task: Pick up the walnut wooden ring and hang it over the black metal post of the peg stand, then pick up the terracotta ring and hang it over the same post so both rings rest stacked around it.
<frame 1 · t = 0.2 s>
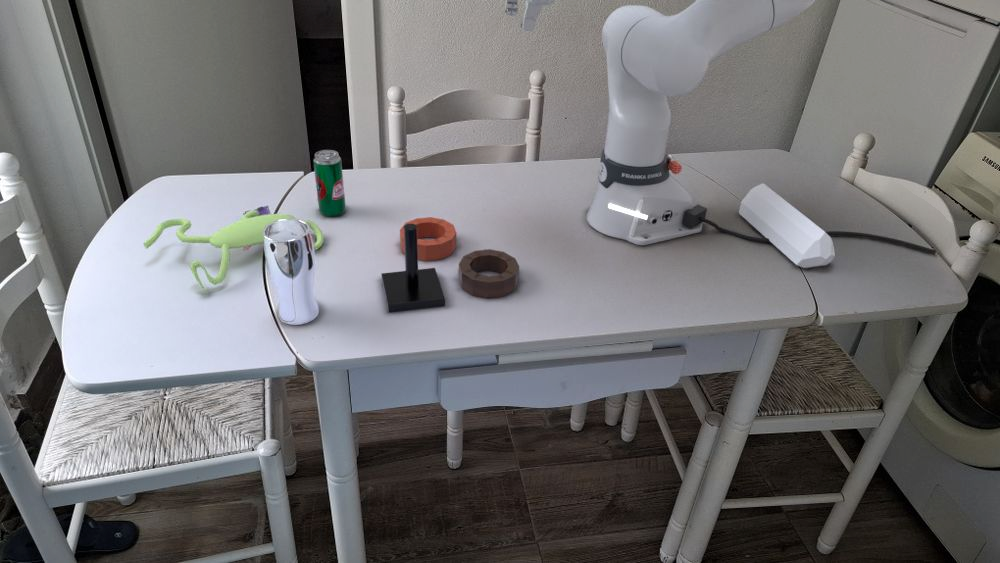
hand: (518, 21, 108), 38 cm above the table, tool pointing down, fingers open, 8 cm apart
terracotta ring: (428, 246, 124), on the table
chrome cup: (299, 314, 106), on the table
walnut ring: (488, 281, 116), on the table
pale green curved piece: (237, 253, 120), on the table
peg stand: (412, 293, 112), on the table
crystal: (781, 240, 132), on the table
soda can: (332, 212, 133), on the table
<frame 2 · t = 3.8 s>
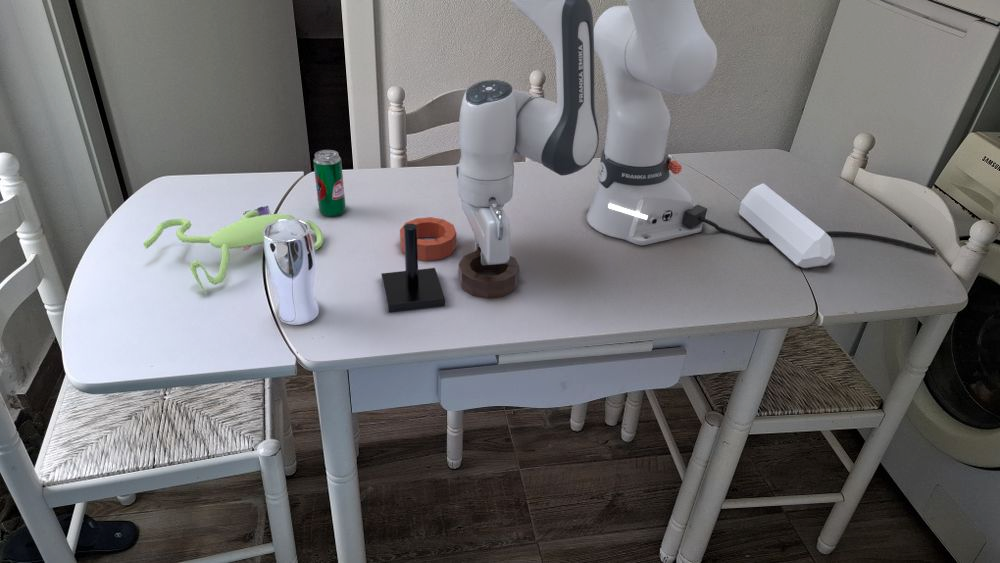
hand: (483, 257, 118), 2 cm above the table, tool pointing down, fingers closed on walnut ring, 2 cm apart
walnut ring: (488, 280, 116), on the table, touching gripper
everything else where it was.
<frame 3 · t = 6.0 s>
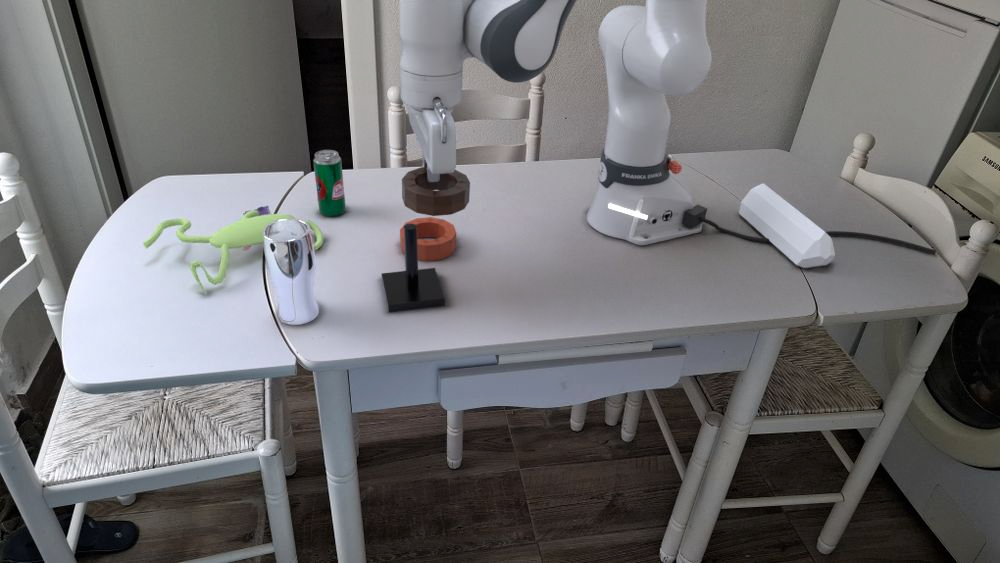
hand: (431, 175, 106), 19 cm above the table, tool pointing down, fingers closed on walnut ring
walnut ring: (435, 199, 104), point 17 cm above the table, touching gripper
everything else where it was.
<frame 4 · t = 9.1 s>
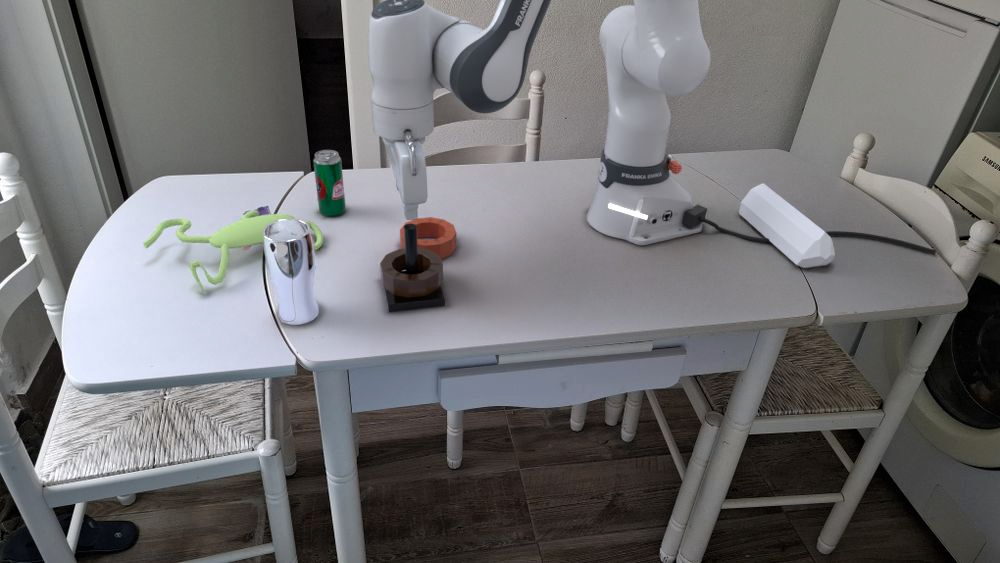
hand: (406, 203, 107), 14 cm above the table, tool pointing down, fingers open, 8 cm apart
walnut ring: (412, 279, 112), point 1 cm above the table, touching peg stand
everything else where it was.
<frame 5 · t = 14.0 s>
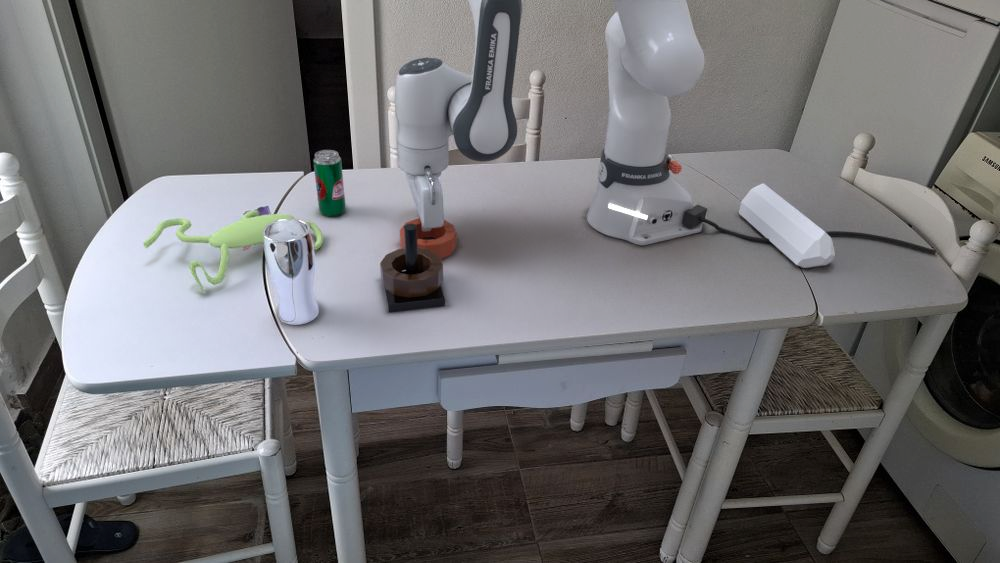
hand: (424, 225, 126), 2 cm above the table, tool pointing down, fingers closed on terracotta ring, 2 cm apart
terracotta ring: (428, 246, 124), on the table, touching gripper
everything else where it was.
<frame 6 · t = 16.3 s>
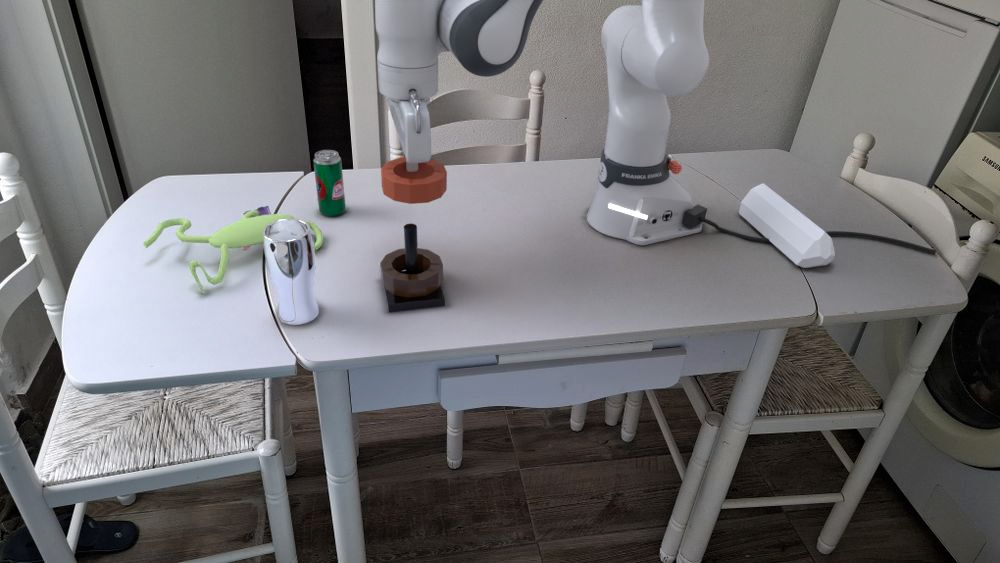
hand: (410, 165, 109), 18 cm above the table, tool pointing down, fingers closed on terracotta ring
terracotta ring: (414, 188, 107), point 16 cm above the table, touching gripper
everything else where it was.
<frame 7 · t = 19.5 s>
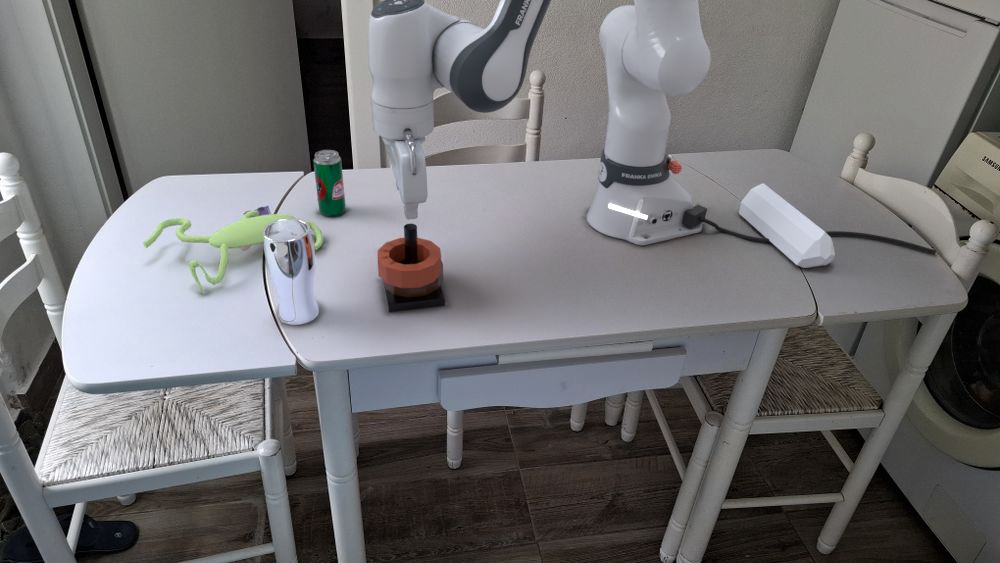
hand: (406, 202, 107), 15 cm above the table, tool pointing down, fingers open, 8 cm apart
terracotta ring: (409, 270, 109), point 5 cm above the table, touching walnut ring
walnut ring: (412, 279, 113), point 1 cm above the table, touching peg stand, terracotta ring
everything else where it was.
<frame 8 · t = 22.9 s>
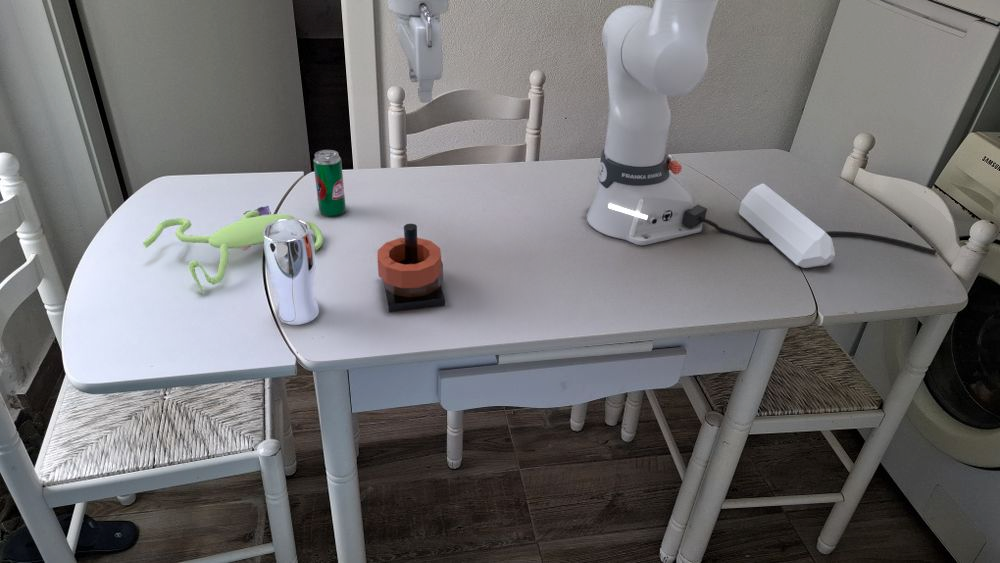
hand: (420, 90, 107), 29 cm above the table, tool pointing down, fingers open, 8 cm apart
nothing on the table moved.
at the end: walnut ring 1.6 cm off-centre on the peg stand, point 1.5 cm above the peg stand's base; terracotta ring 0.5 cm off-centre on the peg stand, point 4.7 cm above the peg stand's base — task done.
